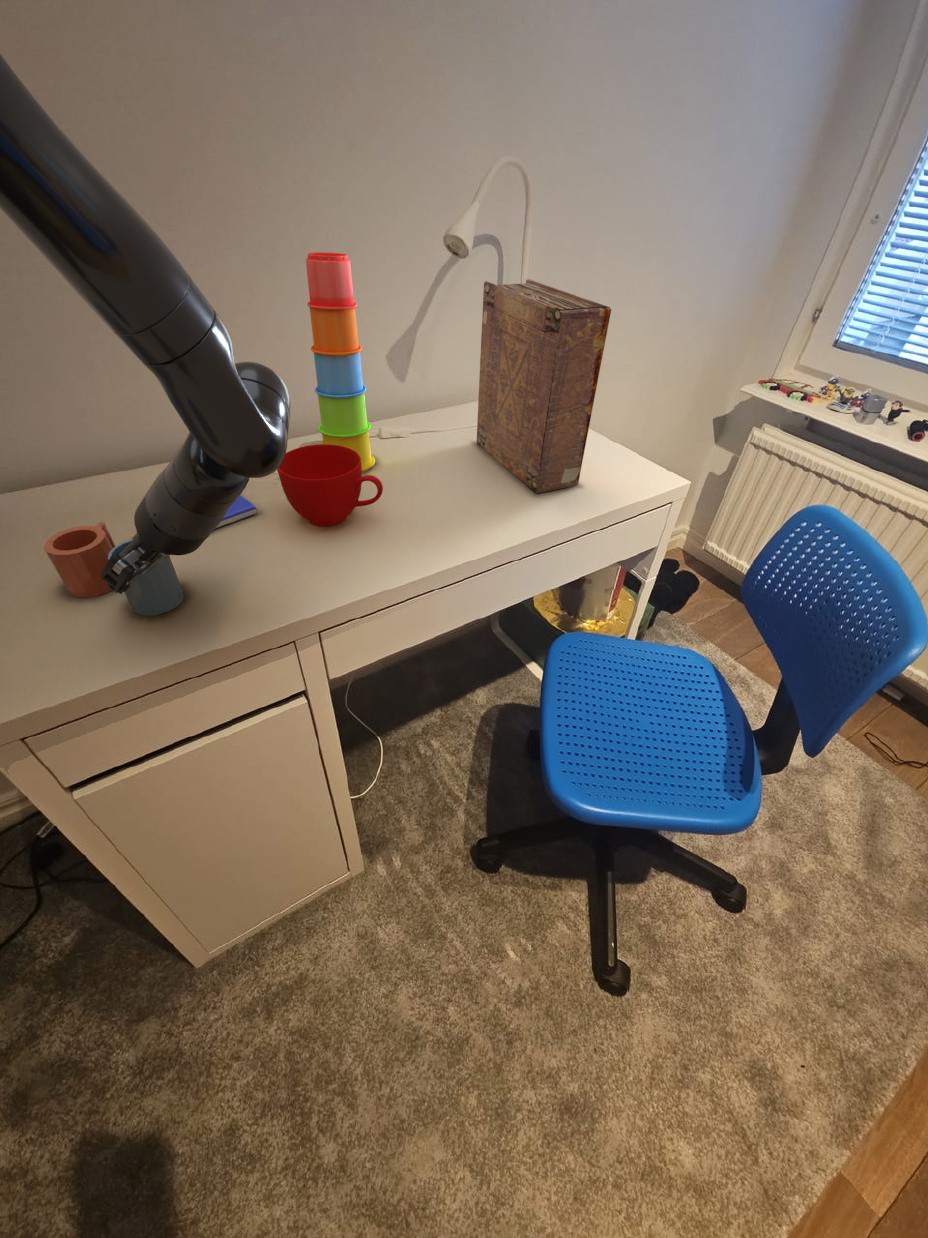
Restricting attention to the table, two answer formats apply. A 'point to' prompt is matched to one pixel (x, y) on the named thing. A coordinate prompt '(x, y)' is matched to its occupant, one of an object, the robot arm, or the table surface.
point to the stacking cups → (337, 354)
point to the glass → (153, 587)
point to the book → (538, 380)
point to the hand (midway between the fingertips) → (136, 571)
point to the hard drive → (238, 511)
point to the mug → (81, 558)
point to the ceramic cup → (324, 483)
